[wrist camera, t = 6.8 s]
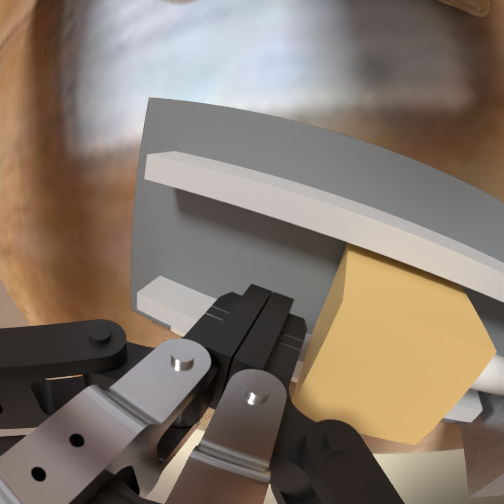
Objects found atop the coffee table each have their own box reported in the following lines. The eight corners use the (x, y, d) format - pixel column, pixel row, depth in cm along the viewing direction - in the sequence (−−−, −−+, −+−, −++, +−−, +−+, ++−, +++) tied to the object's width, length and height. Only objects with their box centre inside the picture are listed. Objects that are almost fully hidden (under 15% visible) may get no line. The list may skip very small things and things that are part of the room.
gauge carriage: (286, 387, 15) (259, 459, 10) (348, 238, 11) (342, 300, 7) (428, 425, 13) (430, 494, 8) (517, 305, 9) (561, 371, 5)
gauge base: (145, 298, 18) (110, 326, 15) (166, 99, 13) (120, 94, 10) (480, 411, 13) (489, 450, 10) (579, 254, 8) (612, 279, 5)
